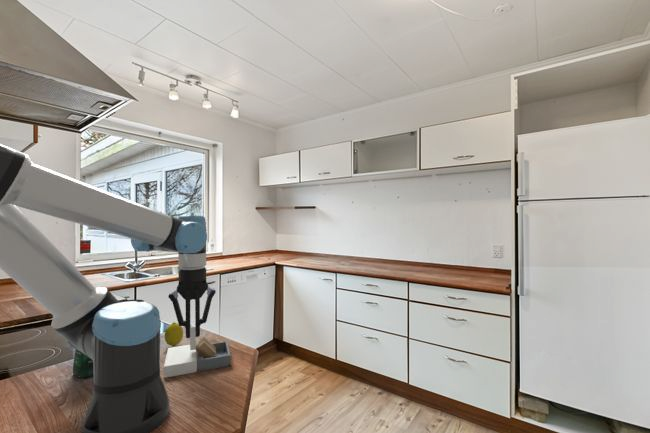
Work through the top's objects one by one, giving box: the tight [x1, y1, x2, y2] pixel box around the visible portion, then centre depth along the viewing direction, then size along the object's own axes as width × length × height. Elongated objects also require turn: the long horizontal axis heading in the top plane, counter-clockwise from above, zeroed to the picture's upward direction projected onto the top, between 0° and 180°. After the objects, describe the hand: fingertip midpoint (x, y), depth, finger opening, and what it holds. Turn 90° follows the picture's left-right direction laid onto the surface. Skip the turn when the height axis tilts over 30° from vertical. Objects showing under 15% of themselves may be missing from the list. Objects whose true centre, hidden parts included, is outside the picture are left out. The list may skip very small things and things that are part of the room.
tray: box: [196, 340, 231, 373], centre depth 90 cm, size 11×9×3 cm
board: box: [163, 344, 198, 379], centre depth 88 cm, size 13×8×3 cm, turn 23°
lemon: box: [164, 321, 184, 347], centre depth 100 cm, size 6×6×8 cm
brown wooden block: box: [196, 336, 216, 359], centre depth 90 cm, size 5×5×3 cm
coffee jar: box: [72, 349, 93, 378], centre depth 85 cm, size 10×8×19 cm
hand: (193, 348), depth 89 cm, fingers closed
